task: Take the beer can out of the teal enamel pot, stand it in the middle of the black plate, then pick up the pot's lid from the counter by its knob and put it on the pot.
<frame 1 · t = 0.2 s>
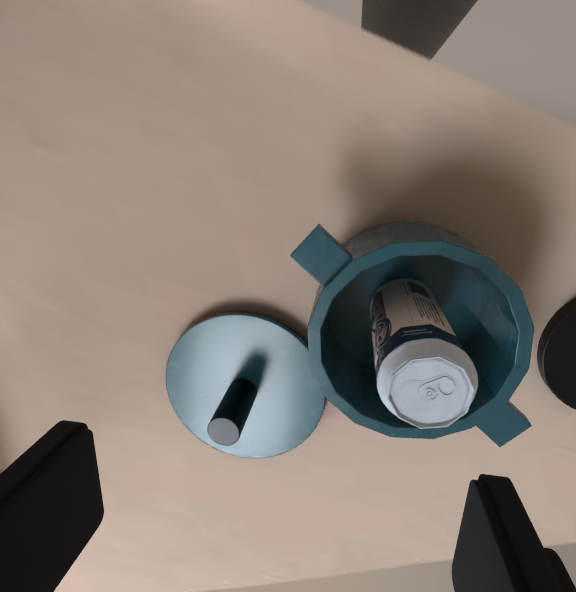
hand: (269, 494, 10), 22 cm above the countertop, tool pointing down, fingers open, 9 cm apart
pot: (401, 304, 31), on the countertop
beer can: (402, 306, 31), resting on pot
lid: (244, 387, 35), point 1 cm above the countertop
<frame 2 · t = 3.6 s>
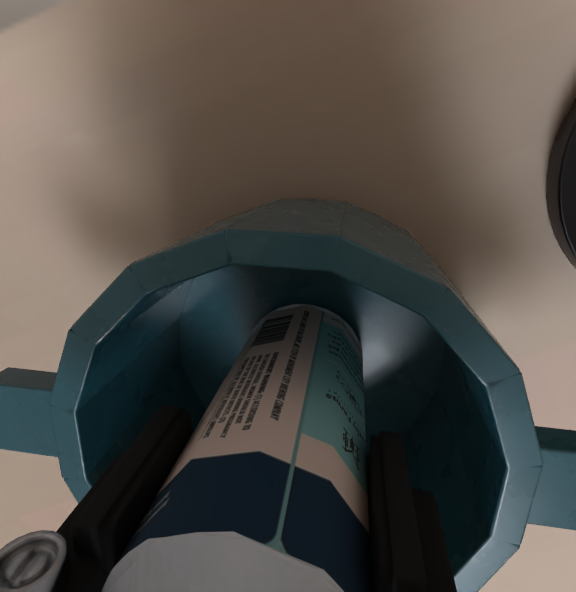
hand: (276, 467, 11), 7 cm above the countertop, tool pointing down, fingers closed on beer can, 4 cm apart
pot: (306, 348, 18), on the countertop
beer can: (305, 351, 17), resting on pot, touching gripper
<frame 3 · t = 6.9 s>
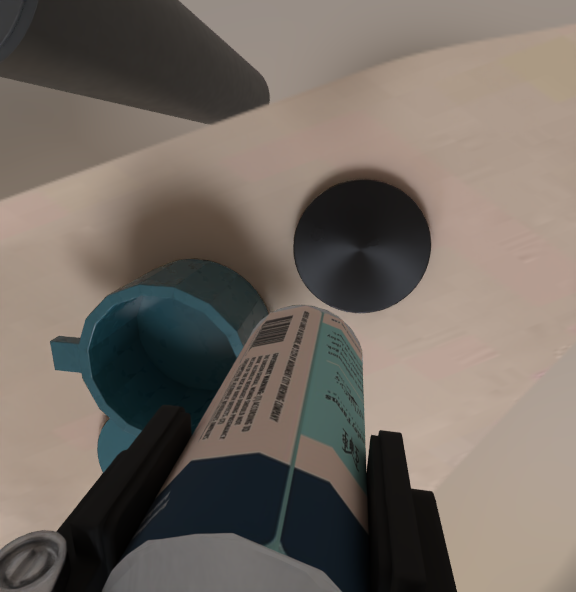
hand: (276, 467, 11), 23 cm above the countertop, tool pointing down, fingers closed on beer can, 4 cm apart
pot: (200, 329, 36), on the countertop
beer can: (305, 352, 17), point 16 cm above the countertop, touching gripper
black plate: (360, 247, 31), on the countertop
lid: (165, 461, 40), point 1 cm above the countertop
when the fingers open (8 cm above the countertop, at t = 10.7 s): beer can stays where it is, resting on black plate.
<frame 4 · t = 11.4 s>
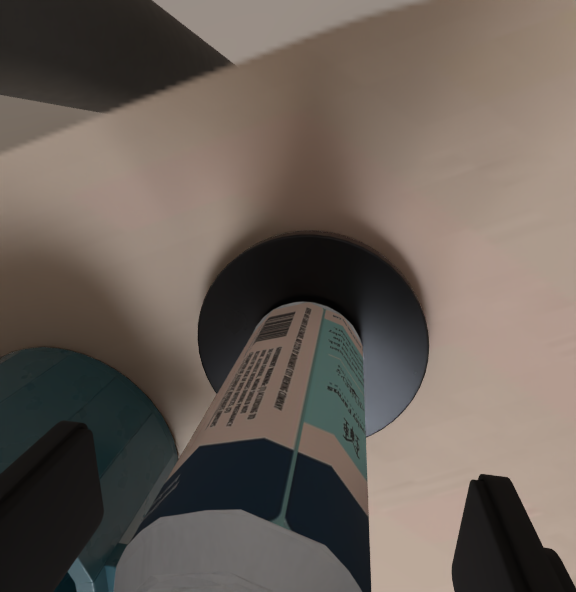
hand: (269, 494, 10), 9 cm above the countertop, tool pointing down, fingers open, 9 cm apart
pot: (72, 449, 23), on the countertop
beer can: (307, 348, 18), point 1 cm above the countertop, touching black plate
black plate: (310, 340, 19), on the countertop
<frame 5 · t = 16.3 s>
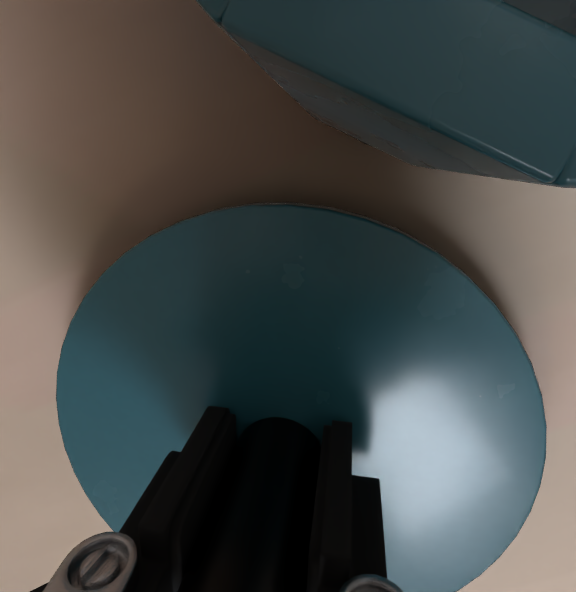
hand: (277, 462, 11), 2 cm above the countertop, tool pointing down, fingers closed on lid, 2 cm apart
lid: (283, 439, 12), point 1 cm above the countertop, touching gripper
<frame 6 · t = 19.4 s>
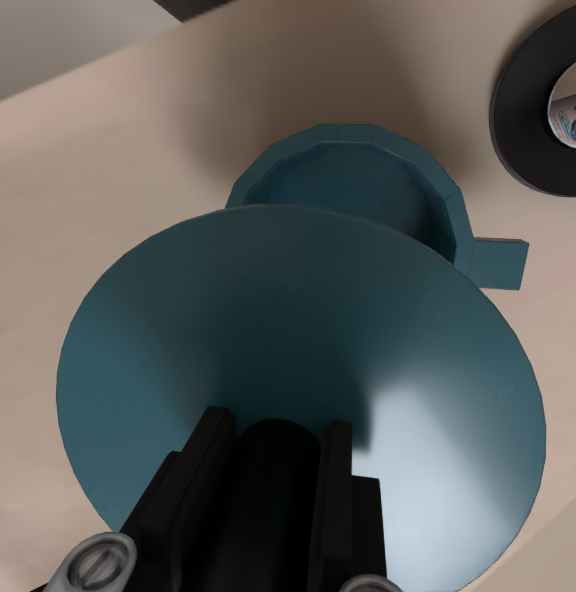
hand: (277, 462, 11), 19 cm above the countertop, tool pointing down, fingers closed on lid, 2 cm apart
pot: (343, 234, 28), on the countertop
lid: (283, 439, 12), point 18 cm above the countertop, touching gripper
when the fingers open (8 cm above the countertop, at t = 22.4 s): lid stays where it is, resting on pot.
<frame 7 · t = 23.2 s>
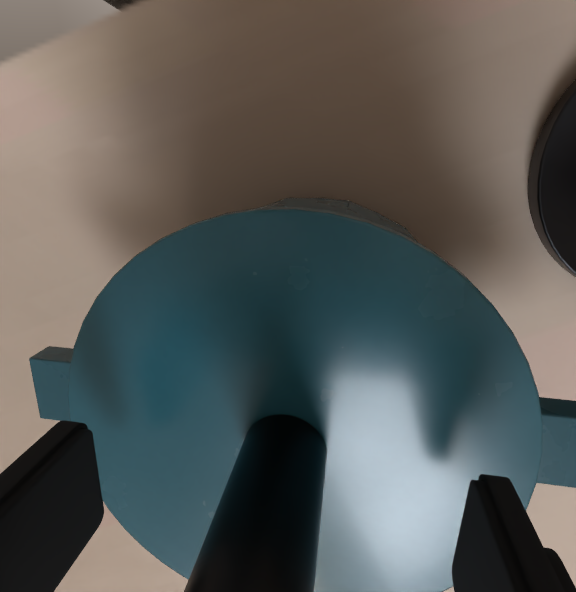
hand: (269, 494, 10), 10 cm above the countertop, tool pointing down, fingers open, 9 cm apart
pot: (311, 334, 19), on the countertop
lid: (288, 435, 12), point 7 cm above the countertop, touching pot
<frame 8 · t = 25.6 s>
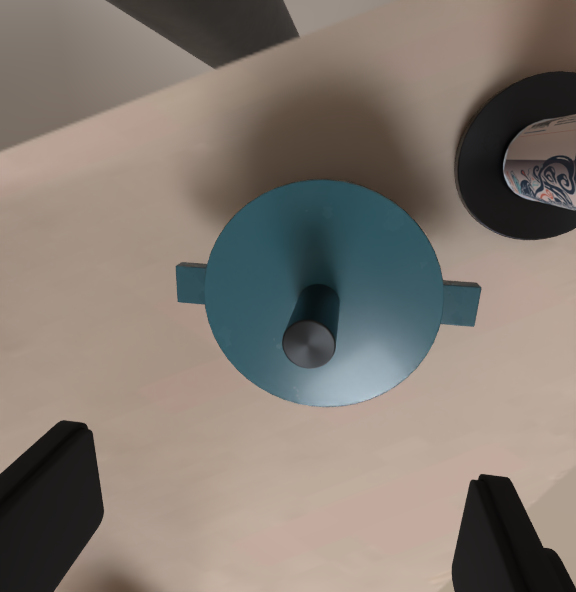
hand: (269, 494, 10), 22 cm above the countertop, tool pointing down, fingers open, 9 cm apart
pot: (327, 267, 31), on the countertop
beer can: (540, 160, 26), point 1 cm above the countertop, touching black plate
black plate: (535, 160, 27), on the countertop
lid: (319, 300, 24), point 7 cm above the countertop, touching pot
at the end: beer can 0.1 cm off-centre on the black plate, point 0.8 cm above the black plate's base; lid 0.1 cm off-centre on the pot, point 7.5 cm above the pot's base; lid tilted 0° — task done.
